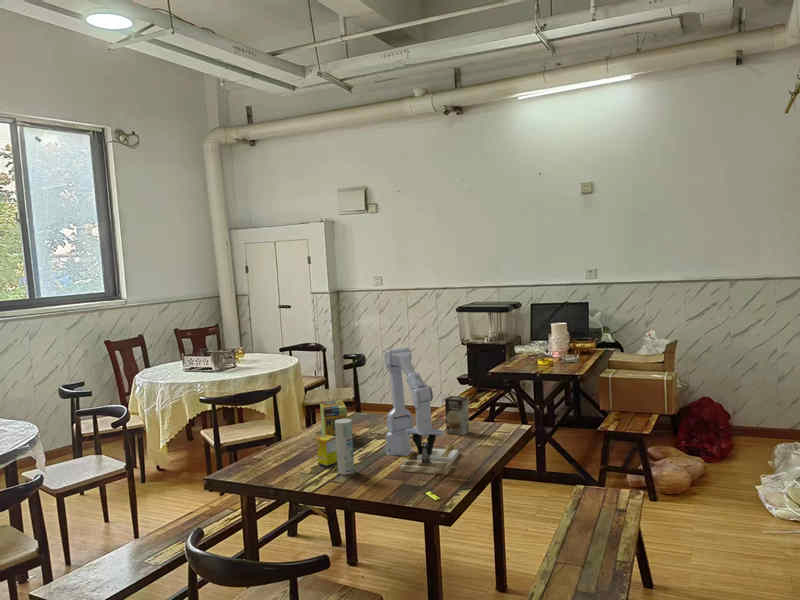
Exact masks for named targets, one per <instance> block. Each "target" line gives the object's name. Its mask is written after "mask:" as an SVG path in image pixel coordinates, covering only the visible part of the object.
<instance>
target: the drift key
mask: <svg viewBox="0 0 800 600" xmlns="http://www.w3.org/2000/svg"><path fill="white" fill-rule="evenodd" d="M445 449H447V451H446V452H445V454H444V455H443V456H442V457H447V456H448V455H449V454H450V452H451V451H452V450H456V444H455V443H446V444H445Z"/></svg>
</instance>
